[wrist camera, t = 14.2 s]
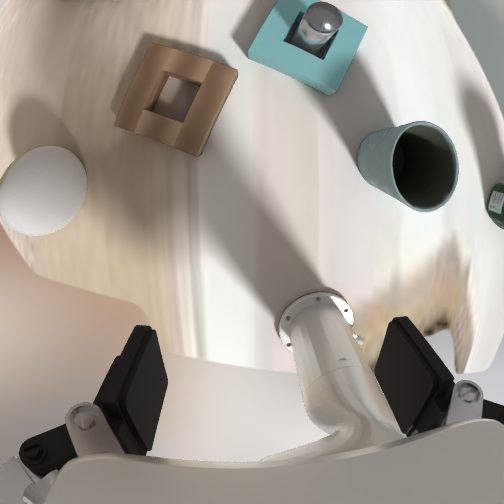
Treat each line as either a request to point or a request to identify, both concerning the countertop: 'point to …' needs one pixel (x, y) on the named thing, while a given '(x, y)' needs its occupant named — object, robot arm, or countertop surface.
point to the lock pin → (317, 27)
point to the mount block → (201, 111)
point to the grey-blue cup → (411, 164)
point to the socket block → (299, 61)
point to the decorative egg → (42, 190)
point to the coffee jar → (497, 205)
